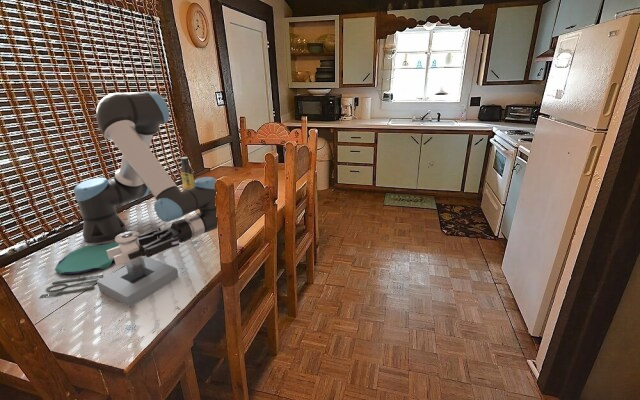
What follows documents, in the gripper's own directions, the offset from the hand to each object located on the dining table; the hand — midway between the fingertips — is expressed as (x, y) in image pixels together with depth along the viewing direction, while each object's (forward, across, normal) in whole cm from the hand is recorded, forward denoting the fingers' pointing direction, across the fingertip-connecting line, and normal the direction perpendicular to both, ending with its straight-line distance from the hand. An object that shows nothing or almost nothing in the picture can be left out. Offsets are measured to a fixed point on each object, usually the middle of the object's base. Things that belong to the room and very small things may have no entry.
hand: (111, 257), depth 88 cm
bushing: (-5, 0, -7) cm, 9 cm away
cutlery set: (+3, +25, -13) cm, 28 cm away
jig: (-5, 0, -12) cm, 13 cm away
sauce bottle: (-62, +73, -12) cm, 97 cm away
